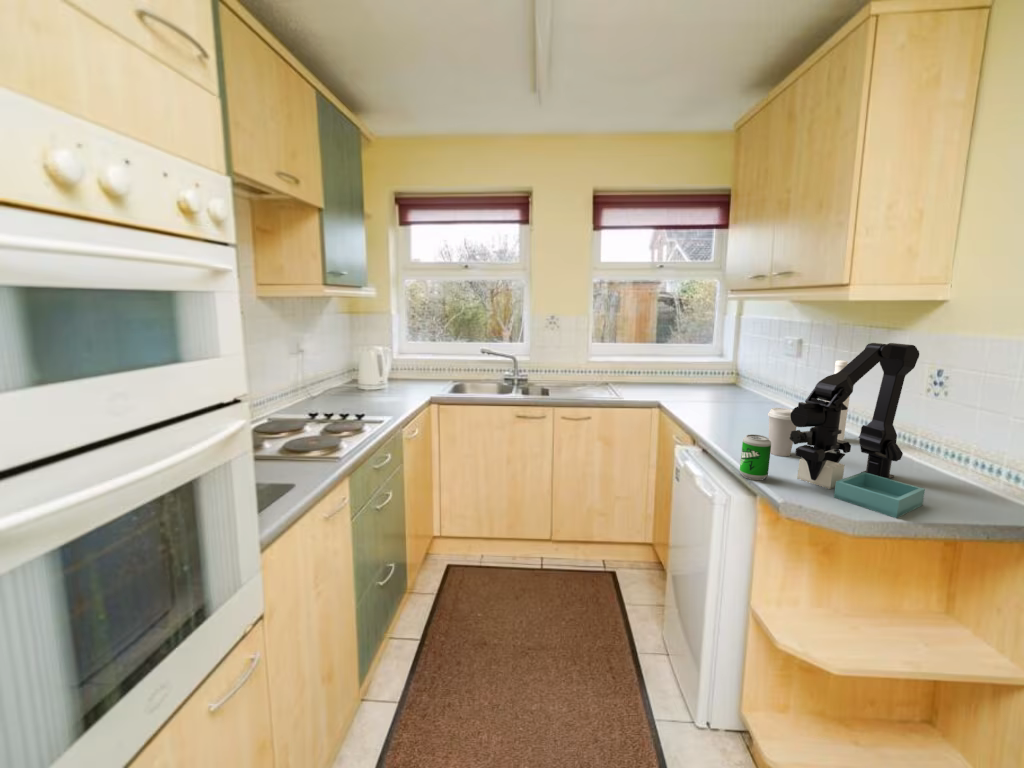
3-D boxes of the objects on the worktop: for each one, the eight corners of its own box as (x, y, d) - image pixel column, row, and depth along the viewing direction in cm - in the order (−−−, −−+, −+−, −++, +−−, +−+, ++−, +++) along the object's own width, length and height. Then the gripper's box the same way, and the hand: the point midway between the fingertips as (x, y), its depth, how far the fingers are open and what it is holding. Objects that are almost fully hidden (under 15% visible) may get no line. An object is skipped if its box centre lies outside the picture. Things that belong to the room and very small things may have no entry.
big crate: (861, 487, 137) (863, 471, 136) (922, 505, 125) (925, 488, 125) (833, 497, 129) (836, 481, 129) (896, 518, 118) (899, 500, 117)
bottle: (823, 435, 189) (833, 359, 184) (846, 440, 183) (858, 361, 178) (815, 439, 184) (825, 360, 179) (838, 444, 178) (850, 362, 173)
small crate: (808, 475, 146) (811, 455, 145) (841, 485, 138) (844, 464, 137) (797, 478, 143) (799, 459, 142) (830, 489, 135) (832, 468, 134)
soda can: (758, 472, 148) (763, 433, 146) (772, 481, 140) (777, 441, 138) (734, 471, 147) (738, 433, 145) (746, 481, 140) (751, 440, 138)
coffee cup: (767, 456, 163) (772, 412, 160) (760, 448, 172) (765, 406, 169) (799, 459, 161) (805, 414, 158) (790, 450, 170) (795, 408, 167)
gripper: (814, 415, 149) (808, 464, 152) (779, 422, 140) (773, 474, 142) (855, 423, 140) (847, 475, 143) (820, 432, 130) (813, 487, 133)
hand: (819, 477), depth 140 cm, fingers closed on small crate, 6 cm apart
